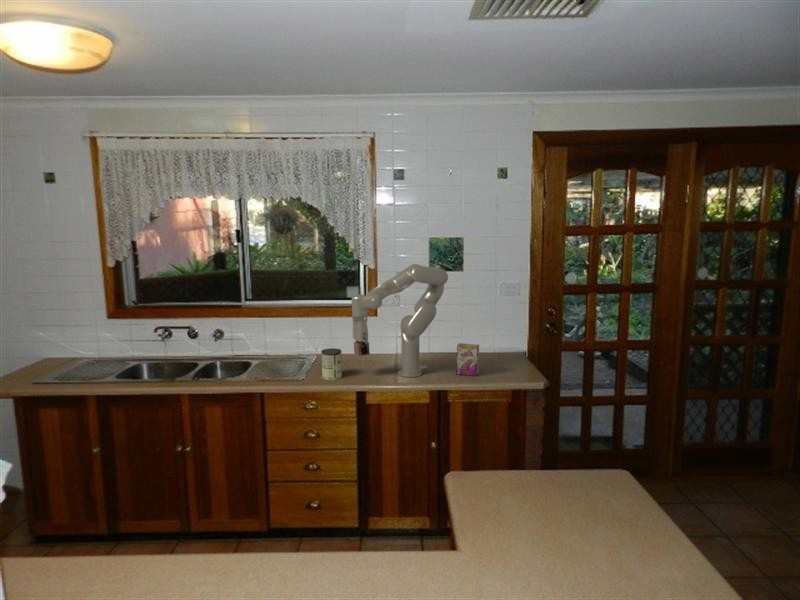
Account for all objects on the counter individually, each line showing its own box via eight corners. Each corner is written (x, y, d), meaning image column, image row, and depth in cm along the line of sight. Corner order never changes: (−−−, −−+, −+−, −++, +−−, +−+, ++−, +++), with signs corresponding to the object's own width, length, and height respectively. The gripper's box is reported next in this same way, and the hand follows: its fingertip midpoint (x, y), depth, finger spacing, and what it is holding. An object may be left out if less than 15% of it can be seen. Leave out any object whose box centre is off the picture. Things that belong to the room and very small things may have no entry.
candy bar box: (456, 374, 271) (456, 344, 268) (457, 372, 275) (458, 342, 273) (477, 376, 268) (478, 346, 265) (478, 374, 272) (479, 344, 270)
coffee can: (324, 373, 272) (324, 348, 269) (343, 374, 271) (343, 348, 268) (319, 379, 262) (319, 353, 259) (339, 380, 261) (339, 353, 258)
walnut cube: (364, 351, 268) (364, 340, 267) (369, 354, 263) (369, 342, 262) (354, 353, 266) (353, 342, 265) (358, 356, 260) (358, 344, 259)
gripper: (346, 317, 267) (348, 350, 270) (360, 322, 252) (361, 357, 255) (360, 315, 270) (361, 348, 273) (373, 320, 255) (375, 355, 258)
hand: (361, 352), depth 264 cm, fingers closed on walnut cube, 6 cm apart
